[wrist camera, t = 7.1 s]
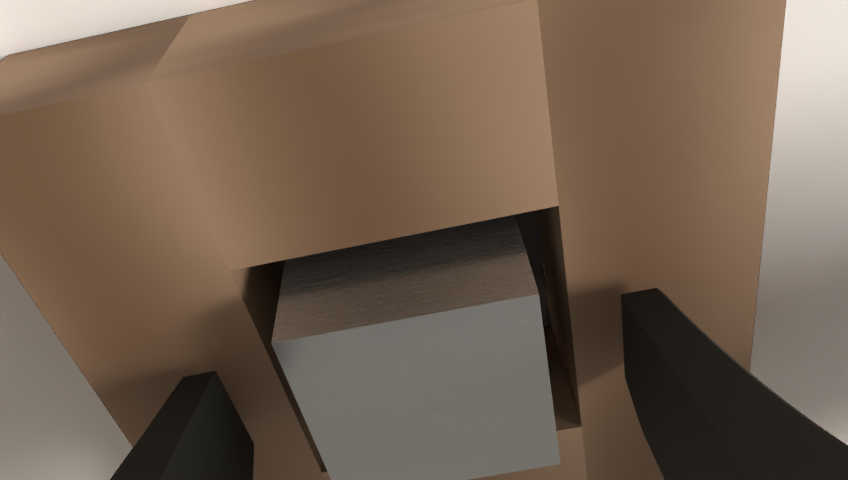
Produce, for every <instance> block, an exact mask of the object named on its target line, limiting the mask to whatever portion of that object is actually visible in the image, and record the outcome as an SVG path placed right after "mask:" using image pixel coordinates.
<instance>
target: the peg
mask: <svg viewBox="0 0 848 480" xmlns="http://www.w3.org/2000/svg"><path fill="white" fill-rule="evenodd" d="M271 344H272V346H273V349H274V351H275V353H276V355H277V358H278V360H279V362H280V365H281V367H282V369H283V371H284V374H285V376H286V378H287V380H288V383H289V385H290V387H291V390H292V392H293V394H294V396H295V399H296V401H297V403H298V406H299V408H300V410H301V412H302V415H303V417H304V419H305V421H306V424H307V426H308V428H309V431H310V433H311V435H312V437H313V440H314V442H315V444H316V446H317V449H318V451H319V453H320V456H321V458H322V460H323V462H324V465H325V467H326V469H327V472H328V474H329V476H330V478H331V480H469V479H475V478H481V477H487V476H493V475H499V474H505V473H511V472H516V471H522V470H528V469H534V468H540V467H546V466H552V465H558V464H561V463H560V455H559V447H558V439H557V432H556V424H555V416H554V408H553V400H552V392H551V384H550V377H549V369H548V361H547V353H546V345H545V337H544V329H543V321H542V314H541V306H540V298H539V292H538V289H537V286H536V282H535V279H534V276H533V272H532V269H531V265H530V262H529V259H528V255H527V252H526V249H525V245H524V242H523V239H522V235H521V232H520V229H519V225H518V222H517V219H516V215H510V216H505V217H500V218H495V219H490V220H484V221H479V222H474V223H469V224H464V225H459V226H454V227H449V228H444V229H439V230H434V231H429V232H424V233H419V234H414V235H409V236H404V237H398V238H393V239H388V240H383V241H378V242H373V243H368V244H363V245H358V246H353V247H348V248H343V249H338V250H333V251H328V252H323V253H317V254H312V255H307V256H302V257H297V258H292V259H287V260H285V265H284V271H283V276H282V282H281V288H280V294H279V300H278V306H277V312H276V318H275V324H274V330H273V336H272V342H271Z"/></svg>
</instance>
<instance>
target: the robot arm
mask: <svg viewBox="0 0 848 480" xmlns="http://www.w3.org/2000/svg"><path fill="white" fill-rule="evenodd" d="M621 309H622V330H623V351H624V372H625V379H626V383H627V386H628V389H629V392H630V395H631V398H632V401H633V405H634V408H635V411H636V414H637V417H638V420H639V423H640V426H641V429H642V431H643V433H644V436H645V438H646V440H647V442H648V445H649V447H650V449H651V451H652V453H653V456H654V458H655V460H656V462H657V464H658V467H659V469H660V471H661V473H662V475H663V477H664V480H848V445H846V444H845V443H843V442H842V441H840V440H839V439H837V438H836V437H834V436H833V435H831V434H830V433H828V432H827V431H825V430H824V429H823V428H821V427H820V426H818V425H817V424H816V423H814V422H813V421H811V420H810V419H809V418H807V417H806V416H805V415H803V414H802V413H800V412H799V411H798V410H796V409H795V408H794V407H792V406H791V405H790V404H789V403H787V402H786V401H785V400H783V399H782V398H781V397H779V396H778V395H777V394H776V393H774V392H773V391H772V390H770V389H769V388H768V387H767V386H765V385H764V384H763V383H762V382H760V381H759V380H758V379H757V378H756V377H754V376H753V375H752V374H751V373H750V372H748V371H747V370H746V369H745V368H744V367H743V366H741V365H740V364H739V363H738V362H737V361H736V360H734V359H733V358H732V357H731V356H730V355H729V354H727V353H726V352H725V351H724V350H723V349H722V348H721V347H720V346H718V345H717V344H716V343H715V342H714V341H713V340H712V339H711V338H710V337H709V336H707V335H706V334H705V333H704V332H703V331H702V330H701V329H700V328H699V327H698V326H697V325H696V324H695V323H694V322H693V321H692V320H691V319H690V318H688V317H687V316H686V315H685V314H684V313H683V312H682V311H681V310H680V309H679V308H678V307H677V306H676V305H675V304H674V303H673V302H672V301H671V300H670V299H669V298H668V297H667V296H666V294H665V293H664V292H662V291H661V290H659V289H658V288H653V289H647V290H642V291H637V292H631V293H626V294H621ZM253 467H254V443H253V441H252V439H251V437H250V435H249V433H248V431H247V429H246V427H245V425H244V423H243V422H242V420H241V418H240V416H239V414H238V412H237V410H236V408H235V406H234V404H233V403H232V401H231V399H230V397H229V395H228V393H227V391H226V389H225V387H224V385H223V384H222V382H221V380H220V378H219V376H218V374H217V372H216V371H212V372H206V373H201V374H196V375H191V376H185V377H183V378H182V379H181V380H180V382H179V383H178V385H177V386H176V387H175V389H174V390H173V392H172V393H171V394H170V396H169V397H168V399H167V400H166V402H165V403H164V404H163V406H162V407H161V409H160V410H159V412H158V413H157V414H156V416H155V417H154V419H153V420H152V422H151V423H150V425H149V426H148V427H147V429H146V430H145V432H144V433H143V435H142V436H141V437H140V439H139V440H138V442H137V443H136V444H135V446H134V447H133V449H132V450H131V451H130V453H129V454H128V456H127V457H126V458H125V460H124V461H123V463H122V464H121V465H120V467H119V468H118V469H117V471H116V472H115V474H114V475H113V476H112V478H111V479H110V480H253Z"/></svg>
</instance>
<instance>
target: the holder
mask: <svg viewBox="0 0 848 480" xmlns="http://www.w3.org/2000/svg"><path fill="white" fill-rule="evenodd" d="M785 8H786V0H254V1H250V2H245V3H241V4H236V5H232V6H227V7H223V8H218V9H214V10H209V11H205V12H200V13H196V14H191V15H187V16H182V17H178V18H173V19H169V20H164V21H160V22H155V23H151V24H147V25H142V26H138V27H133V28H129V29H124V30H120V31H115V32H111V33H106V34H102V35H97V36H93V37H88V38H84V39H79V40H75V41H70V42H66V43H61V44H57V45H52V46H48V47H43V48H39V49H34V50H30V51H25V52H21V53H16V54H12V55H8V56H7V57H6V58H5V59H4V60H3V61H1V62H0V253H1V255H2V256H3V257H4V259H5V260H6V262H7V263H8V265H9V266H10V268H11V269H12V271H13V272H14V274H15V275H16V276H17V278H18V279H19V281H20V282H21V284H22V285H23V287H24V288H25V290H26V291H27V293H28V294H29V296H30V297H31V298H32V300H33V301H34V303H35V304H36V306H37V307H38V309H39V310H40V312H41V313H42V315H43V316H44V317H45V319H46V320H47V322H48V323H49V325H50V326H51V328H52V329H53V331H54V332H55V334H56V335H57V337H58V338H59V339H60V341H61V342H62V344H63V345H64V347H65V348H66V350H67V351H68V353H69V354H70V356H71V357H72V358H73V360H74V361H75V363H76V364H77V366H78V367H79V369H80V370H81V372H82V373H83V375H84V376H85V378H86V379H87V380H88V382H89V383H90V385H91V386H92V388H93V389H94V391H95V392H96V394H97V395H98V397H99V398H100V399H101V401H102V402H103V404H104V405H105V407H106V408H107V410H108V411H109V413H110V414H111V416H112V417H113V419H114V420H115V421H116V423H117V424H118V426H119V427H120V429H121V430H122V432H123V433H124V435H125V436H126V438H127V439H128V440H129V442H130V443H131V445H132V446H133V447H134V446H135V444H136V443H137V442H138V440H139V439H140V437H141V436H142V435H143V433H144V432H145V430H146V429H147V427H148V426H149V425H150V423H151V422H152V420H153V419H154V417H155V416H156V414H157V413H158V412H159V410H160V409H161V407H162V406H163V404H164V403H165V402H166V400H167V399H168V397H169V396H170V394H171V393H172V392H173V390H174V389H175V387H176V386H177V385H178V383H179V382H180V380H181V379H182V378H183V377H185V376H191V375H196V374H201V373H206V372H212V371H216V372H217V374H218V376H219V378H220V380H221V382H222V384H223V385H224V387H225V389H226V391H227V393H228V395H229V397H230V399H231V401H232V403H233V404H234V406H235V408H236V410H237V412H238V414H239V416H240V418H241V420H242V422H243V423H244V425H245V427H246V429H247V431H248V433H249V435H250V437H251V439H252V441H253V443H254V467H253V480H331V478H330V476H329V474H328V472H327V469H326V467H325V465H324V462H323V460H322V458H321V456H320V453H319V451H318V449H317V446H316V444H315V442H314V440H313V437H312V435H311V433H310V431H309V428H308V426H307V424H306V421H305V419H304V417H303V415H302V412H301V410H300V408H299V406H298V403H297V401H296V399H295V396H294V394H293V392H292V390H291V387H290V385H289V383H288V380H287V378H286V376H285V374H284V371H283V369H282V367H281V365H280V362H279V360H278V358H277V355H276V353H275V351H274V349H273V346H272V344H271V342H272V336H273V330H274V324H275V318H276V312H277V306H278V300H279V294H280V288H281V282H282V276H283V271H284V265H285V260H287V259H292V258H297V257H302V256H307V255H312V254H317V253H323V252H328V251H333V250H338V249H343V248H348V247H353V246H358V245H363V244H368V243H373V242H378V241H383V240H388V239H393V238H398V237H404V236H409V235H414V234H419V233H424V232H429V231H434V230H439V229H444V228H449V227H454V226H459V225H464V224H469V223H474V222H479V221H484V220H490V219H495V218H500V217H505V216H510V215H515V214H520V213H525V212H530V211H535V210H537V218H538V226H539V234H540V242H541V250H542V258H543V266H544V274H545V281H546V289H547V297H548V305H549V313H550V321H551V327H546V328H543V329H544V337H545V345H546V353H547V361H548V369H549V377H550V384H551V392H552V400H553V408H554V416H555V424H556V432H557V439H558V447H559V455H560V463H561V464H558V465H552V466H546V467H540V468H534V469H528V470H522V471H516V472H511V473H505V474H499V475H493V476H487V477H481V478H475V479H469V480H664V477H663V475H662V473H661V471H660V469H659V467H658V464H657V462H656V460H655V458H654V456H653V453H652V451H651V449H650V447H649V445H648V442H647V440H646V438H645V436H644V433H643V431H642V429H641V426H640V423H639V420H638V417H637V414H636V411H635V408H634V405H633V401H632V398H631V395H630V392H629V389H628V386H627V383H626V379H625V372H624V351H623V330H622V309H621V294H626V293H631V292H637V291H642V290H647V289H653V288H658V289H659V290H661V291H662V292H664V293H665V294H666V296H667V297H668V298H669V299H670V300H671V301H672V302H673V303H674V304H675V305H676V306H677V307H678V308H679V309H680V310H681V311H682V312H683V313H684V314H685V315H686V316H687V317H688V318H690V319H691V320H692V321H693V322H694V323H695V324H696V325H697V326H698V327H699V328H700V329H701V330H702V331H703V332H704V333H705V334H706V335H707V336H709V337H710V338H711V339H712V340H713V341H714V342H715V343H716V344H717V345H718V346H720V347H721V348H722V349H723V350H724V351H725V352H726V353H727V354H729V355H730V356H731V357H732V358H733V359H734V360H736V361H737V362H738V363H739V364H740V365H741V366H743V367H744V368H745V369H746V370H747V371H748V372H750V362H751V352H752V342H753V332H754V322H755V312H756V301H757V291H758V281H759V271H760V261H761V251H762V241H763V231H764V220H765V210H766V200H767V190H768V180H769V170H770V160H771V150H772V139H773V129H774V119H775V109H776V99H777V89H778V79H779V69H780V58H781V48H782V38H783V28H784V18H785Z"/></svg>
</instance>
